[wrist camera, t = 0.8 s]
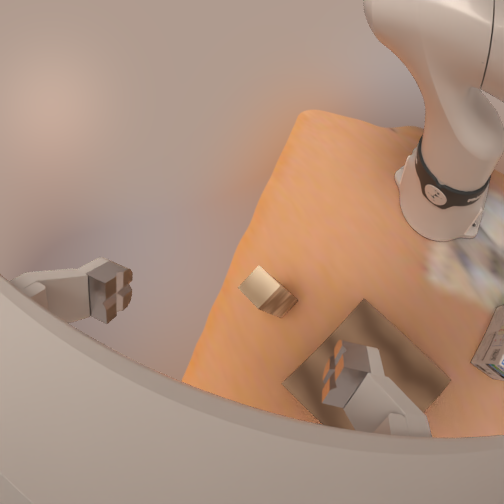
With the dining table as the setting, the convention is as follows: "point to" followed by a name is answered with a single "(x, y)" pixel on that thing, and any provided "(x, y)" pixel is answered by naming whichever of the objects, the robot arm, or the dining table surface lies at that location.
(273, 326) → the dining table surface
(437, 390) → the walnut board
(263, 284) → the beech block
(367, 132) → the dining table surface
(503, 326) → the light bulb box
